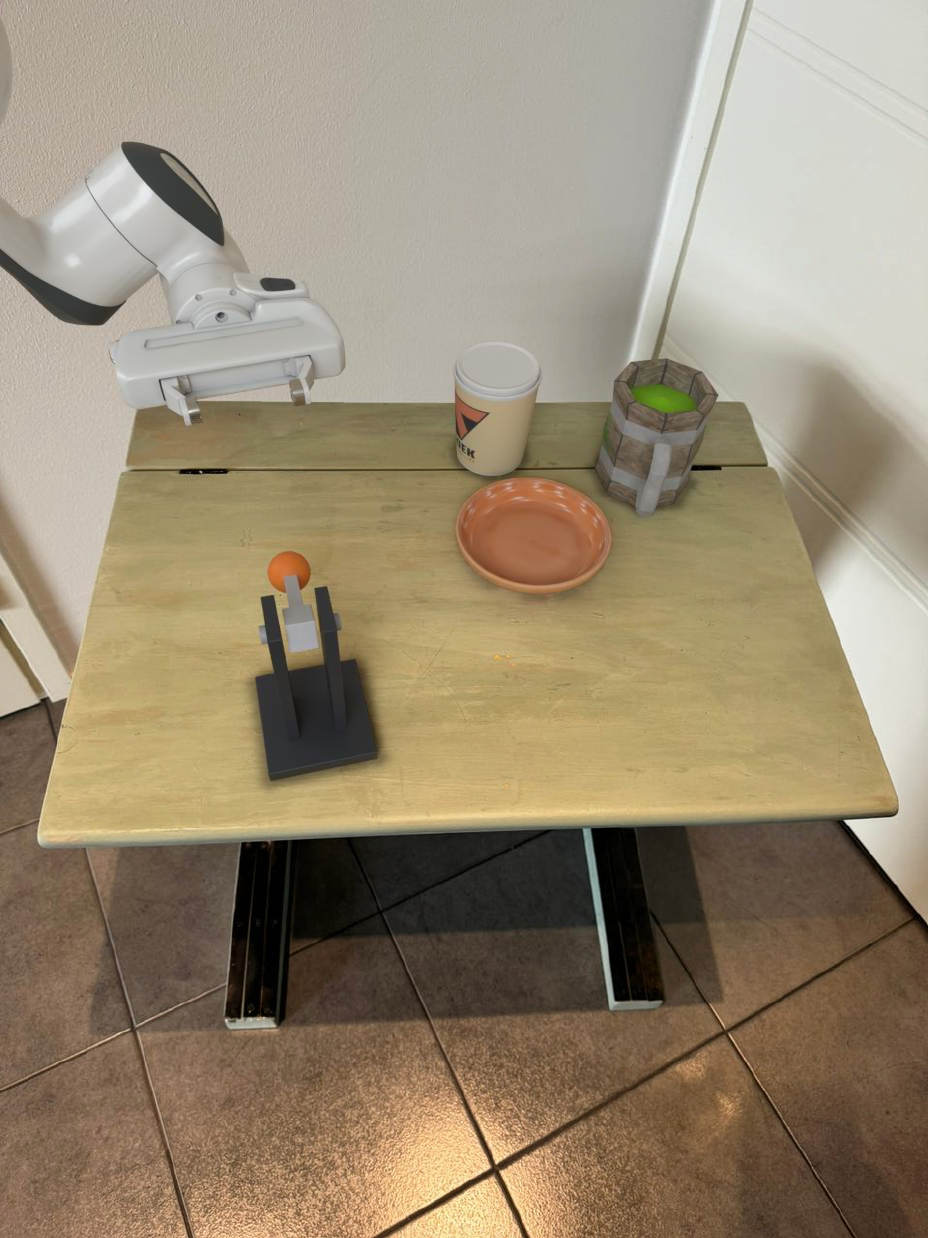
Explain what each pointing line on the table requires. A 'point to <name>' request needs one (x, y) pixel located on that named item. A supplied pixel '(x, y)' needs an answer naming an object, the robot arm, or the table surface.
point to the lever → (294, 599)
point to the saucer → (533, 535)
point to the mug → (653, 432)
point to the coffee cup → (494, 405)
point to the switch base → (311, 702)
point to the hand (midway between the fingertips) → (248, 408)
